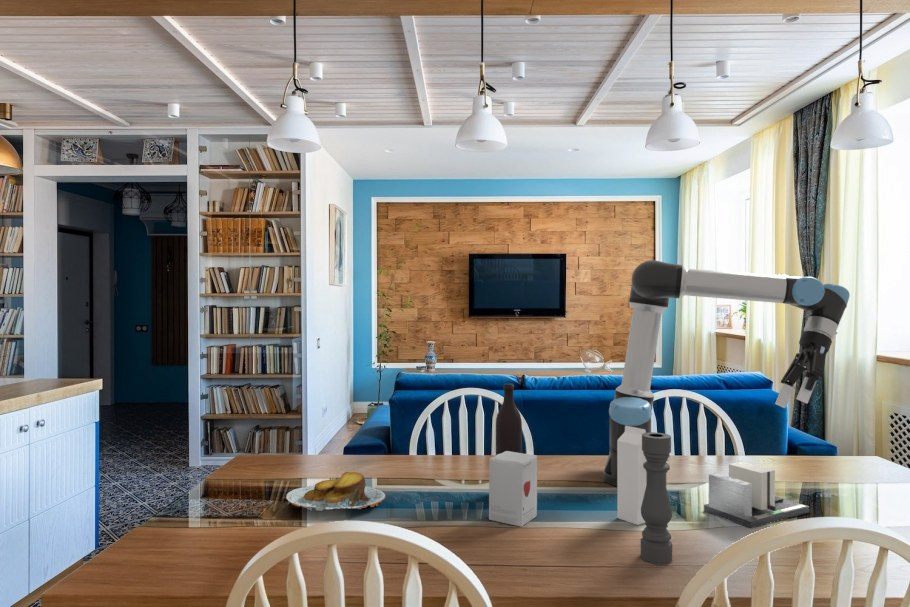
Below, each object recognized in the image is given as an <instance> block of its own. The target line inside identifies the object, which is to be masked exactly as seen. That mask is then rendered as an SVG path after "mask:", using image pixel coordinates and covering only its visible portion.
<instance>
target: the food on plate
mask: <svg viewBox="0 0 910 607" xmlns="http://www.w3.org/2000/svg"><path fill="white" fill-rule="evenodd" d="M366 484H367V483H366V478H365V476H364V475H363V474H362V473H361V472H356V471H345V472H343V473H342V474H341V476H340V478H333V479H324V480H321V481H318V482H317V483H315V484H313V485H308V486H305V487H299V488H295V489H292V490H290V491H289V492H287V493H286V494H285V500H287V501H288V502H287V505H289V504H291V505H292V506H295V507H302V508H305V509H307V510H310V511H312V510H313V509H314V510H315V511H320V512H322V511H325V510H333V509H344V510H345V509H347V510H355V509H357V510H361V509H365V508H367V507H369V506H370V508H374V507H375V506H376V507H377V506H379V503H381V502H383V500H385V499H386V496H387V494H385V493H384V491H382V490H380V489H377V488H374V487H372V486H366Z"/></svg>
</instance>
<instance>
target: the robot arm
mask: <svg viewBox="0 0 910 607" xmlns="http://www.w3.org/2000/svg"><path fill="white" fill-rule="evenodd" d="M684 296H686V297H700V298H711V299H712V298H713V299H723V300H725V299H727V300H737V301H750V302H751V301H752V302H763V303H774V304H775V303H776V304H783V305H785V304H787V305H791V306H793V307H795V308H797V309H801V310H804V311H806V312H808V313H810V314H809V317H808V318H807V321H806V323H805V326H804V328H803V332H802V334H801V337H800V338H799V341H798V344H799V346H800V347H801V348H802V349H803V350H802V351H800V352H799V353H798V352H797V353H796V354H795V356H794V358H793V360H792V362H791V363H790V365H789V367H788V369H787V370H786V372H785V374H784V375H783V376H782V379H781V380H780V383H781V384H782V385H781V388H780V390H779V393H778V396H777V398H776V401H775V403H774V405H777V406H779V407H781V408H783V409H785V408H787V405H788V403H789V399H790V398H791V395H792V393H793V390H794V389H795V384H796V382H797V381H798V379H799V378H800V377H801V376H802V374H803V373H804V371H806V373H805V377H804V378H803V381H802V383H801V386H800V389H799V391H798V394H797V396H796V400H798V401H800V402H802V403H804V404H806V405H807V404H808V403H809V402H810V398H811V395H812V393H813V392H814V389H815V386H816V383H817V381H819V379H820V378H823V377H824V371H825V364H826V359H827V358H826V357H827V353H829V352H830V349H831V346H832V343H833V341H832V340H834V337H835V336H836V335H837V334H838V332H837V330H838V327H839V326H840V322H841V320H842V318H843V315H844V313H845V310H846V308H847V307H848V302H849V300H850V296H851V294H850V291H849V290H848V289H847V288H846V287H845V286H843V285H840V284H835V283H824V284H823V283H822V282H821V281H820V280H819V279H818V278H816V277H813V276H792V275H788V274H785V273H780V274H778V275H777V274H765V273H763V274H762V273H750V272H740V271H739V272H736V271H734V272H733V271H722V270H712V269H711V270H710V269H708V270H707V269H694V268H687V267H686V266H685V265H684V264H676V263H670V262H669V263H668V262H663V261H659V260H654V259H653V260H651V259H650V260H646V261H643V262H641V263H639V264H638V265H637V266H636V267H635V268H634V270H633V272H632V275H631V287H630V292H629V298H628V299H629V300H628V304H629V306H630V307H631V308H632V314H631V319H630V325H629V333H628V339H627V347H626V354H625V359H624V365H623V372H622V379H621V384H620V385H618V386H617V387H616V388H615V393H614V398H613V400H611V401H610V403H609V408H608V414H609V454H608V458H607V460H606V462H605V465H604V469H603V474H602V476H603V478H602V479H603V481H604V482H605V483H607V484H609V485H611V486H615V487H617V440H618V439H619V438H620V437H621V436H622V434H623V433H624V432H625V426H630V427H635V428H640V429H645V430H646V433H650V432H652V416H653V408H654V407H653V405H654V399H655V394H654V393H653V392H652V390H651V385H652V379H653V372H654V366H655V365H654V364H655V360H656V359H655V358H656V353H657V346H658V339H659V333H660V327H661V320H662V315H663V314H662V313H663V312H665V311H666V310H667V309H669V308H668V307H669V302H670V299H681V298H682V297H684Z"/></svg>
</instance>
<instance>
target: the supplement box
mask: <svg viewBox="0 0 910 607" xmlns="http://www.w3.org/2000/svg"><path fill="white" fill-rule="evenodd" d="M488 461H489V466H488V469H489V470H488V473H489V474H488V476H489V477H488V478H489V479H488V483H489V484H488V520H490V521H494V522H497V523H498V522H499V523H503V524H508V525H511V526H512V525H513V526H516V527H521V528H522V527H523V526H524V525H526V524H528V523H529V522H530V521H532V520H533V519H534V518H536V517H537V516H538V455H536V454H529V453H523V452H522V453H517V452H510V451H505V452H503V453H501V454H498V455H496V454H495V455H494V456H492V457H489V460H488Z"/></svg>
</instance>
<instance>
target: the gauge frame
mask: <svg viewBox="0 0 910 607" xmlns="http://www.w3.org/2000/svg"><path fill="white" fill-rule="evenodd" d="M775 507H776V511H772V510H769V509H763V510H760V509H757V508H754V507H752V484H751V483H748V482H745V481H741V480H738V479H734V478H731V477H729V475H725V474H724V475H723V474H721V473H717V472H715V473H709V474H708V503H707V504H703V511H704V512H706V513H708V514H711V515H715V516H716V517H719V518H722V519H725V520H728V521H730V522H733V523H736V524H737V525H742V526H743V527H746V528H749V529H753V528H756V527H759V526H764V525H768V524H770V522H772V523H775V522H778V521H777V520H779V521H782V520H781V519H783V520H786V519H785V518H787V519H789V518H788V517H791V518H794V517H797V516H802V515H805V514H808V513H810V506H809V505H805V504H802V503H799V502H796V501H793V500H789V499H785V498H782V497H779V496H777V495H775ZM793 516H794V517H793ZM774 521H775V522H774ZM767 523H768V524H767ZM752 527H753V528H752Z"/></svg>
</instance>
